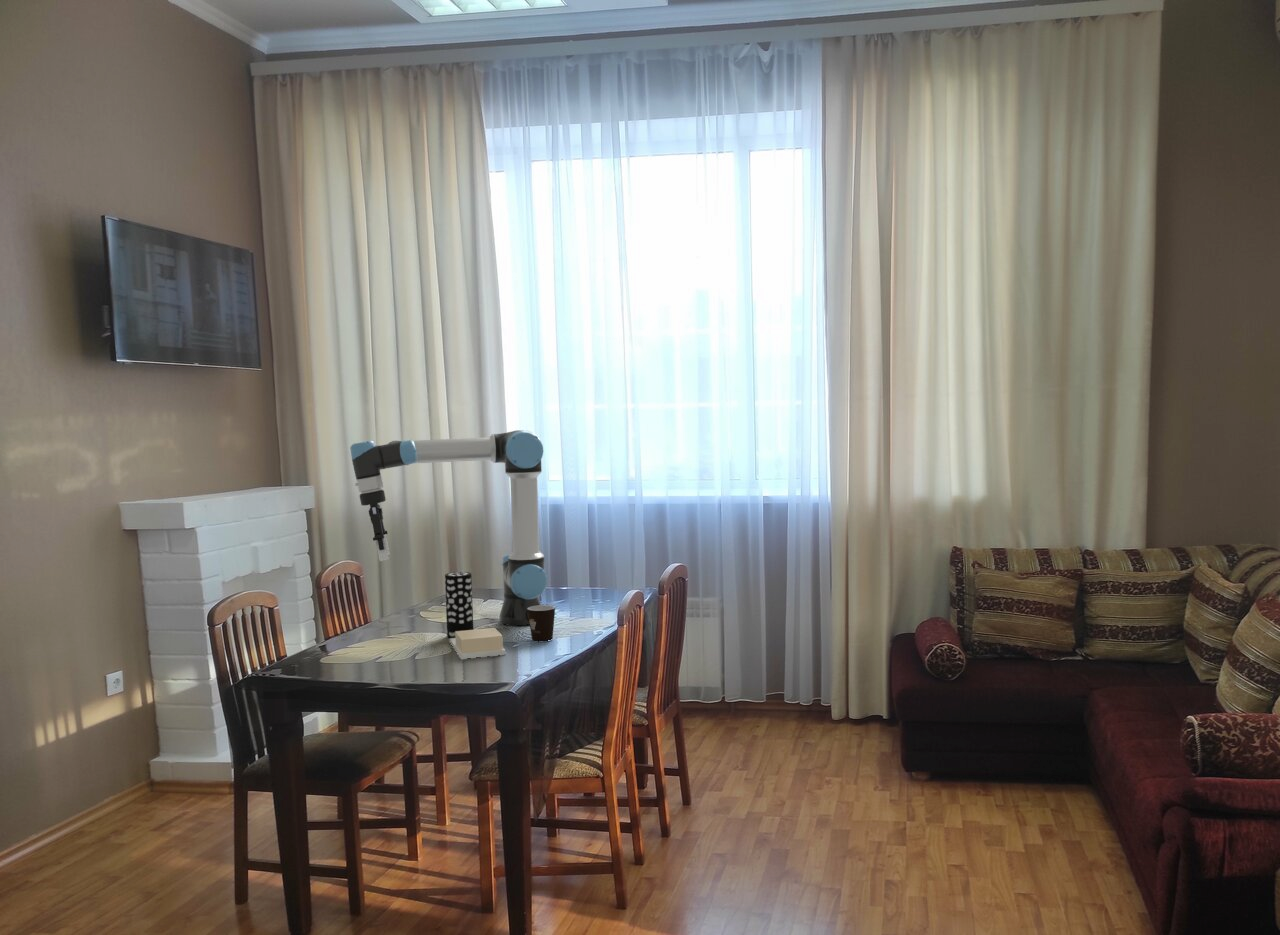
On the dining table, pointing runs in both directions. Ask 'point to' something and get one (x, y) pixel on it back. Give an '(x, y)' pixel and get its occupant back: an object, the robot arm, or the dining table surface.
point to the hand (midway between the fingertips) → (384, 558)
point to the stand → (478, 643)
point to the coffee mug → (541, 622)
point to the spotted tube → (458, 602)
